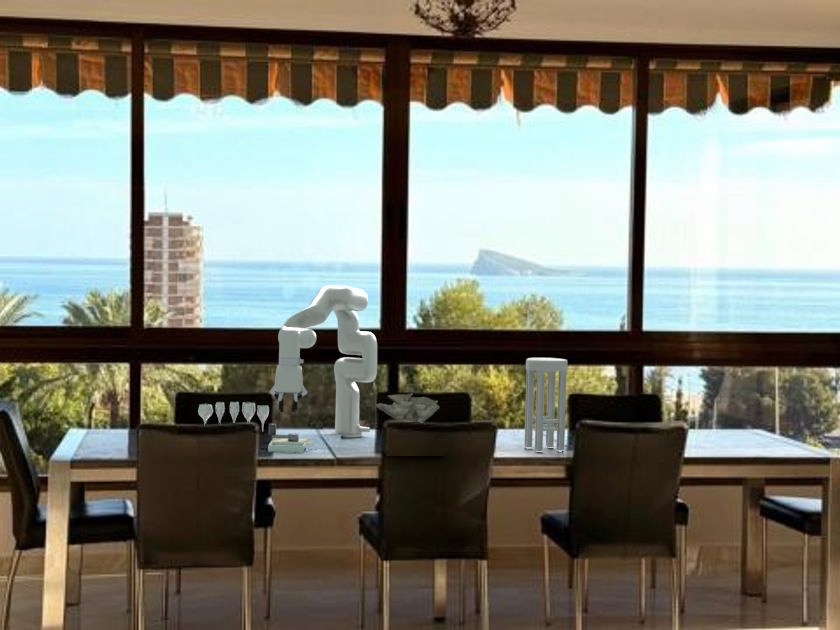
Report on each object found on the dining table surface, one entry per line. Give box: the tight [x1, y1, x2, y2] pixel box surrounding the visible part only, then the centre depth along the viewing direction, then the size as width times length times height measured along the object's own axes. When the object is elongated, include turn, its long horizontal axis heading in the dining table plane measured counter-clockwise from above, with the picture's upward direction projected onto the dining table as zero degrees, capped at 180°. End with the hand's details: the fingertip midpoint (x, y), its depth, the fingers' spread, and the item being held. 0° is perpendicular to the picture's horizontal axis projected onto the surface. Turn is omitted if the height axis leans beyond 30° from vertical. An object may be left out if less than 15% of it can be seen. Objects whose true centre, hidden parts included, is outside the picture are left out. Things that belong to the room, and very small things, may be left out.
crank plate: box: [268, 438, 313, 446], centre depth 471 cm, size 15×15×2 cm
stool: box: [524, 357, 568, 452], centre depth 473 cm, size 16×16×35 cm
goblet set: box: [197, 401, 270, 433], centre depth 494 cm, size 28×6×13 cm, turn 93°
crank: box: [268, 423, 300, 442], centre depth 469 cm, size 11×4×6 cm, turn 90°
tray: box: [267, 440, 307, 454], centre depth 457 cm, size 13×10×2 cm
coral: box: [375, 392, 441, 424], centre depth 460 cm, size 25×20×22 cm
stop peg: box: [282, 393, 294, 415], centre depth 457 cm, size 4×4×7 cm
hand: (287, 411), depth 457 cm, fingers closed on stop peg, 4 cm apart
